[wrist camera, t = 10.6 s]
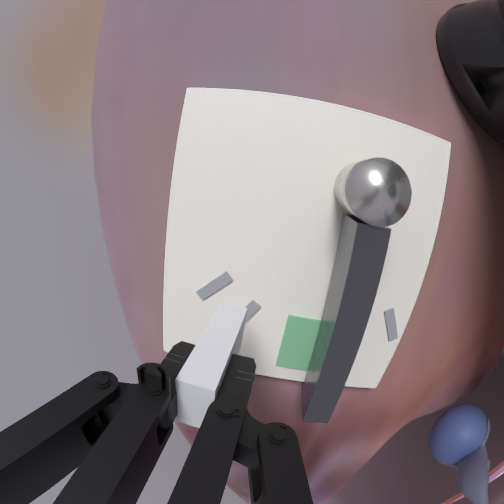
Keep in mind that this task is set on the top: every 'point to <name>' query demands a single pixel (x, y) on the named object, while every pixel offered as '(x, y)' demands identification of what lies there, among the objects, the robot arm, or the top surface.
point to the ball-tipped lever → (353, 276)
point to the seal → (464, 448)
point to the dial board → (288, 223)
